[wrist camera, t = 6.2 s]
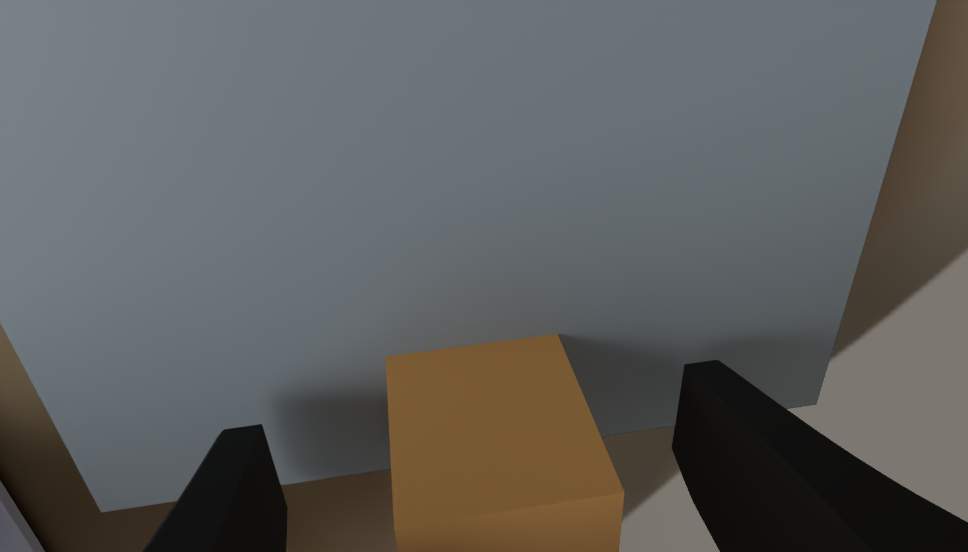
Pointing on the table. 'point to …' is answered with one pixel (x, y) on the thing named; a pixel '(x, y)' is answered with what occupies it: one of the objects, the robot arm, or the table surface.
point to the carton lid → (432, 233)
